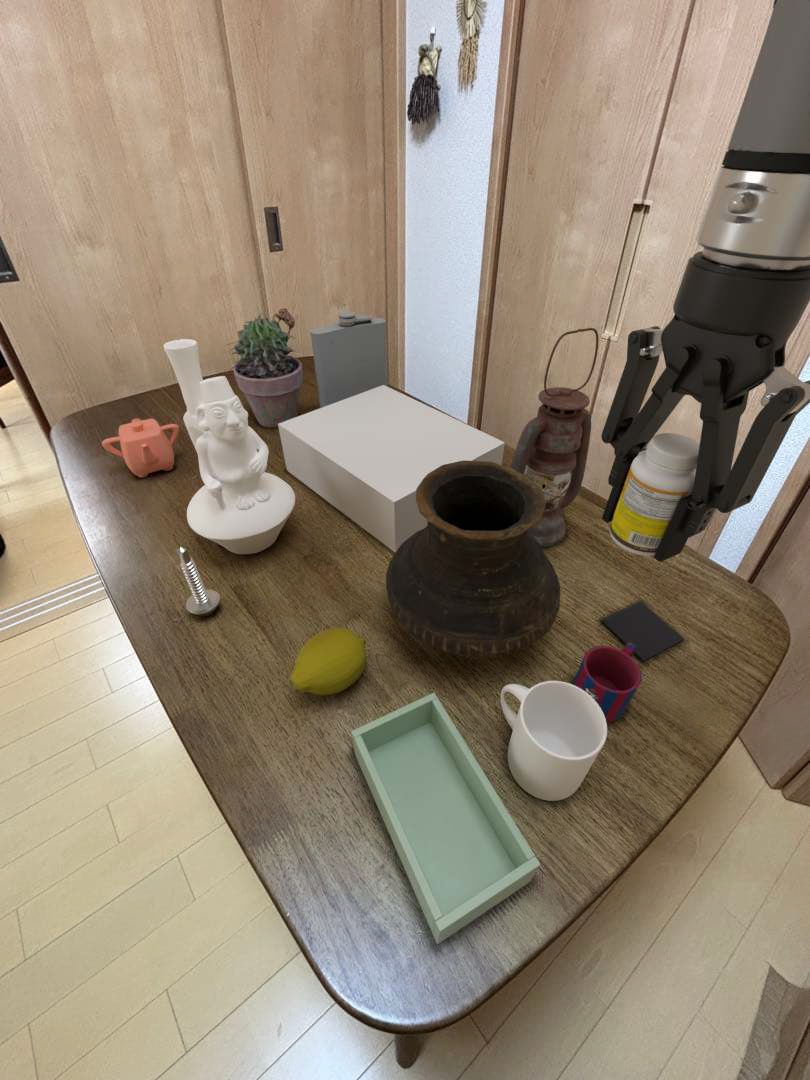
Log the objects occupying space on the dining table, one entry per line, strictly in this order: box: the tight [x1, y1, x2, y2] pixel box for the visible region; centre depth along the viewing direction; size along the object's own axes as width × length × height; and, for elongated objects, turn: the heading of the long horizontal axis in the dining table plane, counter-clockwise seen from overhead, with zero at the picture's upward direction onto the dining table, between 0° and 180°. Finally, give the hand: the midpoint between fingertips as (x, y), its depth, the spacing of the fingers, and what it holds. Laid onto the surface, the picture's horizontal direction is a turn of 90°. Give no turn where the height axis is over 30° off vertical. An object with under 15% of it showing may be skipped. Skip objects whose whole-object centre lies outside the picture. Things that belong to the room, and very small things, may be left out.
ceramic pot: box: [385, 460, 561, 659], centre depth 65 cm, size 24×24×22 cm
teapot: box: [101, 418, 180, 478], centre depth 101 cm, size 14×12×10 cm
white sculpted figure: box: [162, 338, 296, 555], centre depth 77 cm, size 18×22×32 cm
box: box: [277, 385, 506, 553], centre depth 96 cm, size 28×35×11 cm
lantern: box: [509, 327, 599, 549], centre depth 76 cm, size 11×16×35 cm
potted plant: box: [224, 308, 304, 429], centre depth 112 cm, size 18×20×25 cm
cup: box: [571, 642, 642, 724], centre depth 61 cm, size 7×10×7 cm
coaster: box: [600, 601, 685, 663], centre depth 70 cm, size 8×8×1 cm
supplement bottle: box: [609, 432, 700, 557], centre depth 42 cm, size 6×6×10 cm
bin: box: [351, 692, 541, 945], centre depth 50 cm, size 20×11×6 cm, turn 27°
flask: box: [309, 310, 388, 409], centre depth 112 cm, size 17×5×25 cm, turn 119°
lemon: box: [289, 626, 367, 696], centre depth 62 cm, size 11×8×8 cm
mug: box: [500, 680, 608, 802], centre depth 53 cm, size 9×12×11 cm
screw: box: [175, 546, 221, 618], centre depth 69 cm, size 13×5×5 cm
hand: (639, 534), depth 45 cm, fingers closed on supplement bottle, 6 cm apart
